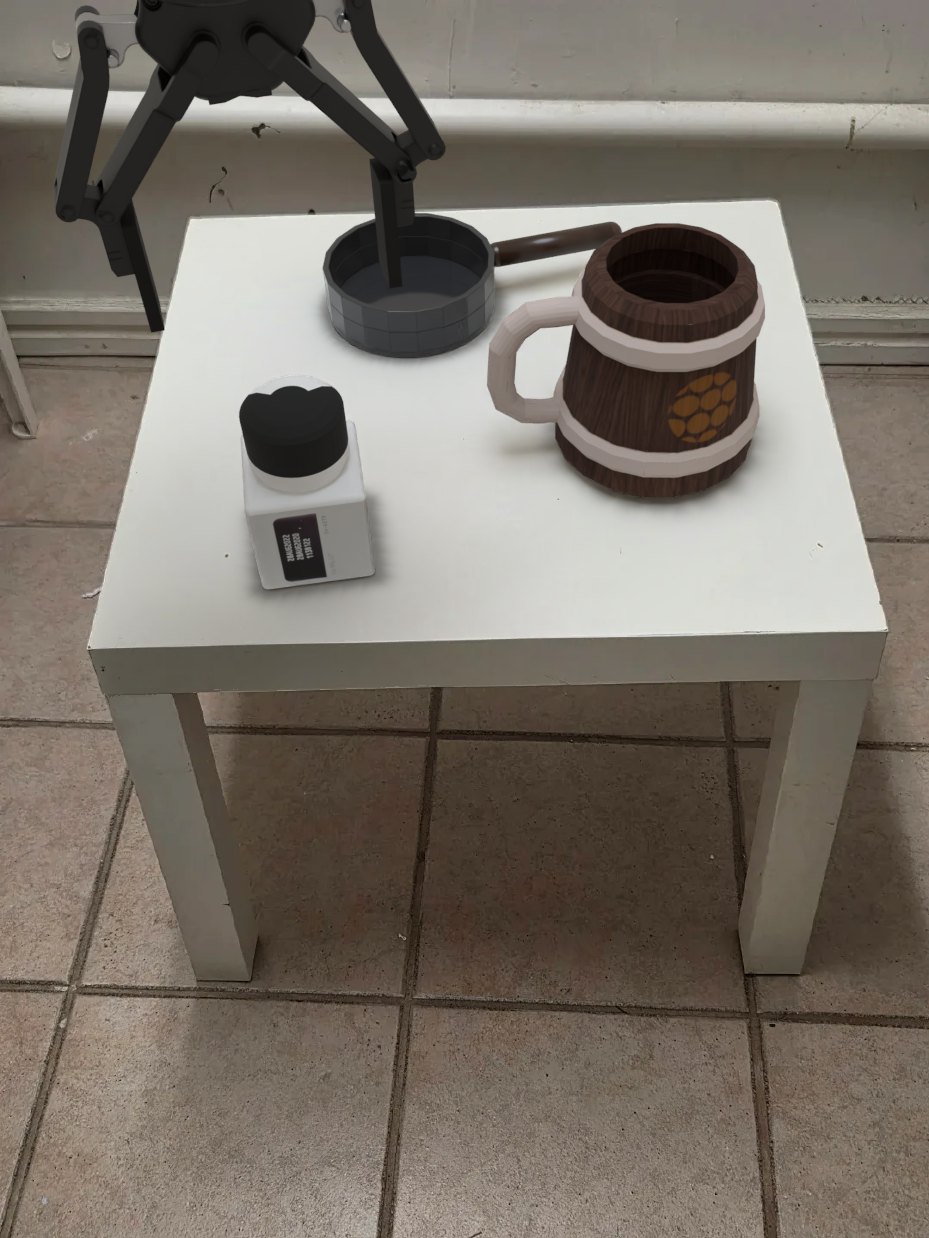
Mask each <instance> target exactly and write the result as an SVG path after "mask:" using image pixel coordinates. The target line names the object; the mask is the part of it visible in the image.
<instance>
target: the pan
mask: <svg viewBox="0 0 929 1238" xmlns="http://www.w3.org/2000/svg"><path fill="white" fill-rule="evenodd" d="M398 238H399V250H400V263H401V275H402V287H396V288H391V289H390V288H389V286H388V283H387V281H386V278H385V275H384V273H383V270H382V268H381V265H380V263H379V253H378V243H377V232H376V222H375V218H372V219H369V220H367V221H363V222H362V223H359V224H356V225H355V226H353V227H351V228H350V229H348V230H347V231H345V232H344V233H342V234H341V235H339V236H338V237H336V238H335V240H334V241H333V242H332V243H331V245H330V246H329V248H328V249H327V250H326V252H325V254H324V259H323V264H322V275H323V282H324V288H325V296H326V303H327V309H328V312H329V317H330V321H331V324H332V325H333V328H334V329H335V331H336V332H337V333H338V334H339V336H341V338H343V339H344V340H345V341H346V342H348V343H349V344H351V345H352V346H354V347H356V348H358V349H360V350H363V351H365V352H367V353H371V354H374V355H379V356H384V357H389V358H400V359H402V358H403V359H404V358H405V359H406V358H407V359H410V358H424V357H429V356H436V355H440V354H443V353H444V354H445V353H447V352H450V351H453V350H455V349H458V348H460V347H462V346H464V345H466V344H468V343H469V342H471V341H472V340H473V339H475V338H476V337H478V336H479V335H480V334H481V333H482V332H483V331H484V330H485V329H486V328H487V326H488V325H490V322H491V320H492V318H493V316H494V312H495V305H496V273H495V272H496V267H495V253H494V251H493V249H492V247H491V245H490V244H491V243H490V241H489V239H488V238H487V237H486V236H485V235H484V234H483V233H481V232H480V231H479V230H478V229H477V228H476V227H475V226H473V225H470V224H468V223H466V222H463V221H461V220H459V219H456V218H454V217H451V216H445V215H441V214H434V213H429V212H415V218H414V221H413V224H412V225H407V226H402V227H398Z"/></svg>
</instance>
